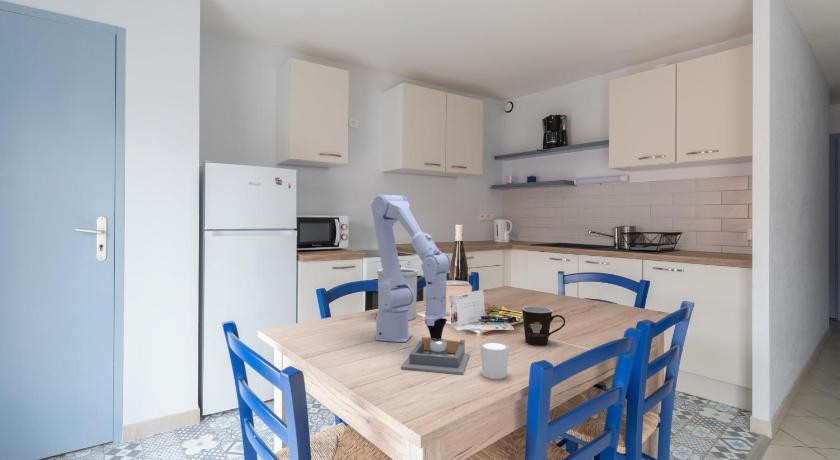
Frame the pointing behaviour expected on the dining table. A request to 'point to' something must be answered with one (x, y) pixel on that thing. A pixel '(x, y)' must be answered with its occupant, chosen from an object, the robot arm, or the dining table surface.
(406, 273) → the utensil holder
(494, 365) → the white cylinder
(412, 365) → the housing
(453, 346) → the gate
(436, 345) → the steel cylinder
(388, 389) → the dining table surface
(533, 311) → the coffee mug
